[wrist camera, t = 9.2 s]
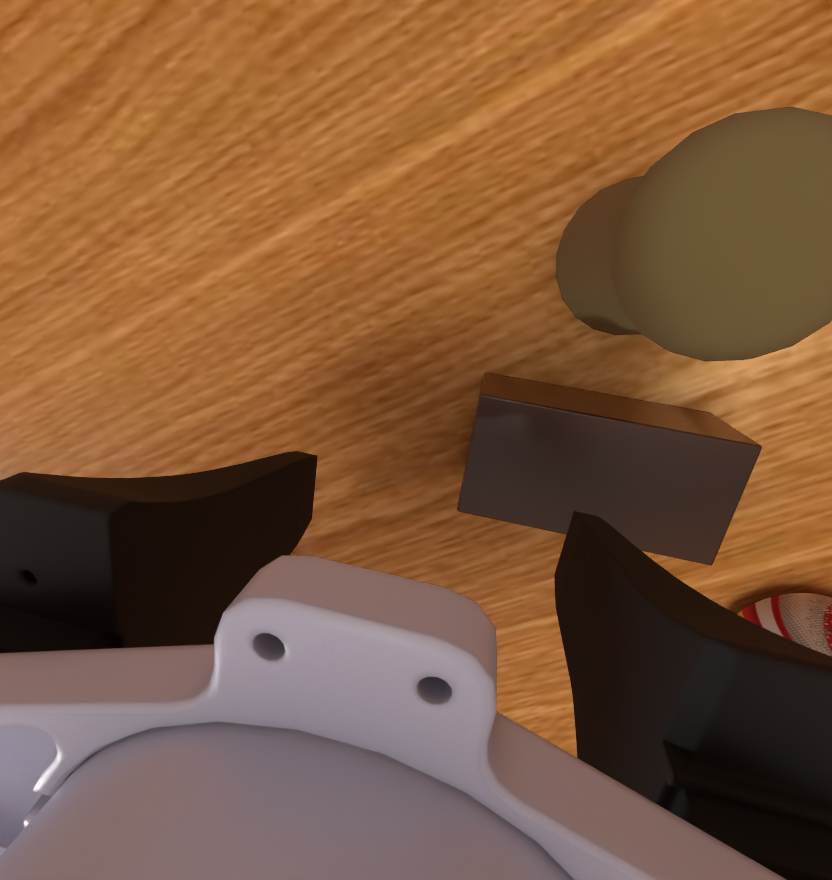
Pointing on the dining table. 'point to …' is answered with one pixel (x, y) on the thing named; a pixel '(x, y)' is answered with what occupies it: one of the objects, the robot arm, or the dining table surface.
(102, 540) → the robot arm
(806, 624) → the soda can
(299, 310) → the dining table surface
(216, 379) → the dining table surface
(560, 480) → the walnut block
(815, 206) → the olive rounded upright piece
